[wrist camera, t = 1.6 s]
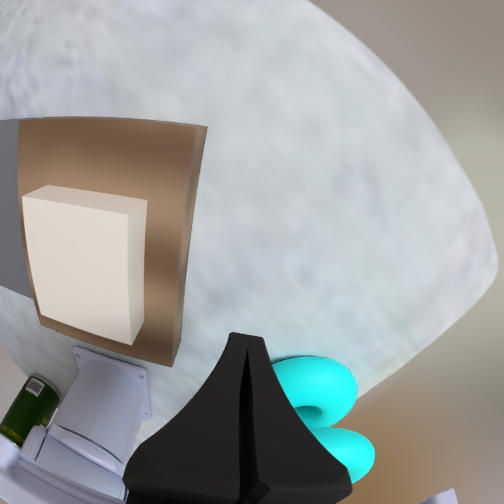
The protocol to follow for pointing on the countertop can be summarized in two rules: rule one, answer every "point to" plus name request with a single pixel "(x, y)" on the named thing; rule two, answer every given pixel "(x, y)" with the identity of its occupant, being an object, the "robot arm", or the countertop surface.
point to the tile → (88, 259)
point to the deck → (129, 185)
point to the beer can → (30, 409)
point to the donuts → (326, 407)
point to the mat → (11, 214)
